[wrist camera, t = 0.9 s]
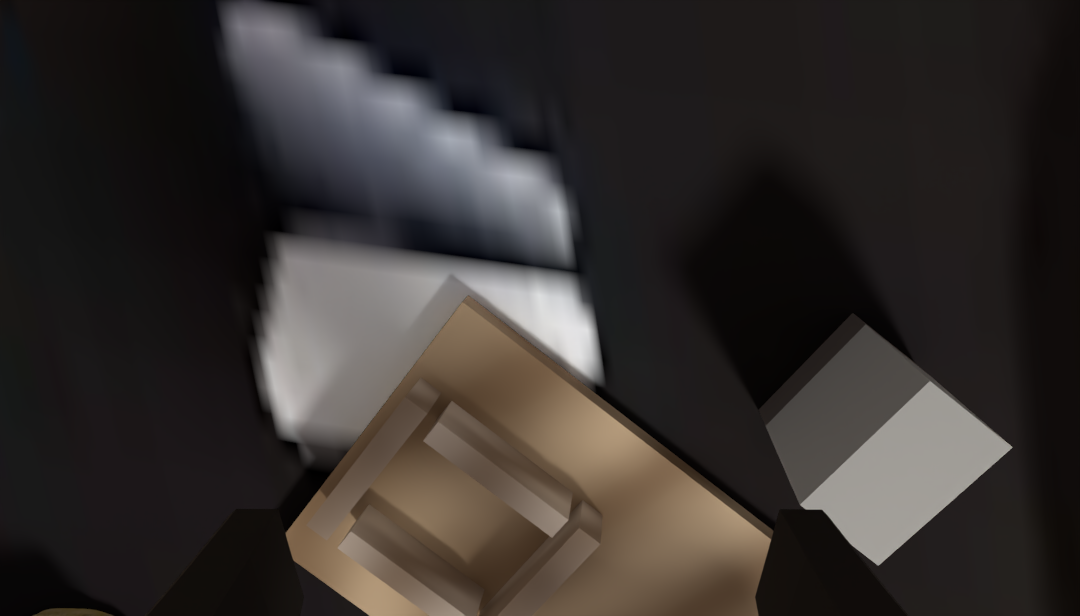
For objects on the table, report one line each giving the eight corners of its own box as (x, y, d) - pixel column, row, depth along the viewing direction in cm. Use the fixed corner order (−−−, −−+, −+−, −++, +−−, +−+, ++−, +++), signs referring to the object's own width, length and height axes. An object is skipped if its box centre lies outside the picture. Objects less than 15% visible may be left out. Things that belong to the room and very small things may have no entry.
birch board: (822, 568, 29) (844, 619, 26) (604, 766, 33) (602, 829, 30) (468, 295, 28) (449, 316, 25) (286, 533, 31) (251, 575, 29)
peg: (914, 362, 26) (1012, 447, 19) (817, 456, 28) (878, 565, 21) (852, 312, 26) (929, 381, 19) (758, 409, 27) (800, 504, 21)
